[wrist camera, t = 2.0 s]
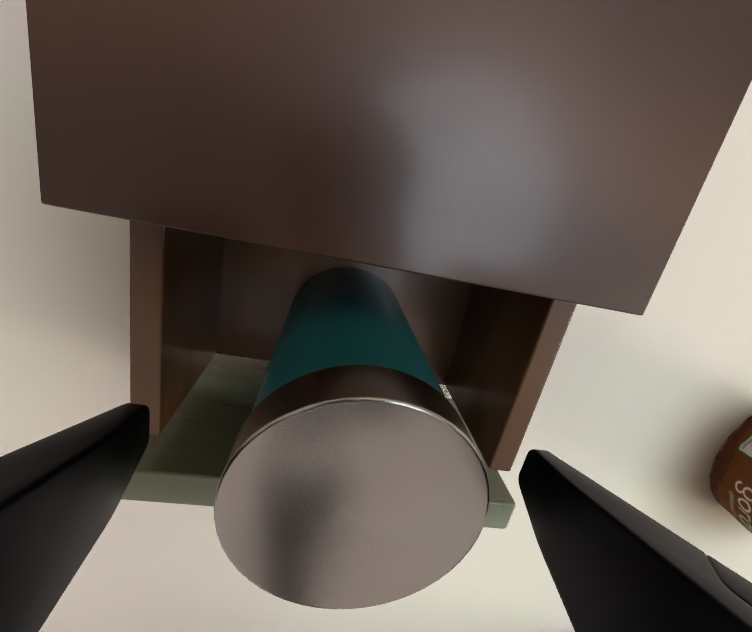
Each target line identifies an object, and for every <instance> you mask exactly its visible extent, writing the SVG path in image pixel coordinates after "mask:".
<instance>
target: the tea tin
mask: <svg viewBox="0 0 752 632" xmlns="http://www.w3.org/2000/svg"><path fill="white" fill-rule="evenodd" d="M488 506H489V481H488V476H487V471H486V468H485V466H484V463H483V460H482V458H481V456H480V454H479V452H478V450H477V448H476V446H475V444H474V442H473V440H472V439H471V437H470V435H469V433H468V431H467V429H466V427H465V425H464V423H463V421H462V419H461V418H460V416H459V414H458V413H457V411H456V410H455V408H454V407H453V406H452V405H451V403H450V402H449V401H448V400H447V399H446V398H445V396H444V394H443V392H442V390H441V388H440V386H439V384H438V382H437V380H436V378H435V376H434V374H433V371H432V369H431V367H430V365H429V363H428V361H427V359H426V357H425V355H424V353H423V351H422V349H421V347H420V345H419V343H418V341H417V339H416V337H415V335H414V333H413V331H412V329H411V327H410V325H409V323H408V321H407V319H406V317H405V315H404V313H403V311H402V309H401V307H400V305H399V303H398V301H397V299H396V297H395V295H394V293H393V292H392V290H391V289H390V288H389V287H388V285H387V284H386V283H385V282H384V281H382V280H381V279H380V278H378V277H377V276H375V275H373V274H372V273H369V272H367V271H364V270H361V269H357V268H349V267H341V268H334V269H330V270H326V271H324V272H321V273H319V274H317V275H315V276H314V277H312V278H311V279H309V280H308V281H307V282H306V283H305V284H304V285H303V286H302V287H301V288H300V289H299V291H298V292H297V294H296V295H295V297H294V299H293V302H292V304H291V307H290V310H289V312H288V315H287V318H286V320H285V323H284V326H283V329H282V331H281V334H280V337H279V339H278V342H277V345H276V347H275V350H274V353H273V355H272V358H271V361H270V364H269V366H268V369H267V372H266V374H265V377H264V380H263V382H262V385H261V388H260V391H259V393H258V396H257V399H256V401H255V404H254V407H253V409H252V412H251V414H250V415H249V416H248V417H247V419H246V420H245V422H244V423H243V425H242V427H241V429H240V431H239V432H238V435H237V437H236V440H235V442H234V445H233V447H232V450H231V452H230V455H229V458H228V460H227V463H226V465H225V468H224V470H223V473H222V476H221V478H220V481H219V484H218V487H217V490H216V496H215V501H214V520H215V526H216V531H217V535H218V538H219V540H220V543H221V546H222V548H223V550H224V551H225V553H226V555H227V557H228V558H229V560H230V561H231V562H232V563H233V565H234V566H235V567H236V568H237V570H238V571H239V572H241V573H242V574H243V575H244V576H245V577H246V578H247V579H248V580H250V581H251V582H252V583H254V584H255V585H257V586H258V587H259V588H261V589H263V590H265V591H267V592H269V593H270V594H272V595H274V596H277V597H279V598H282V599H284V600H287V601H290V602H294V603H297V604H301V605H306V606H311V607H317V608H328V609H353V608H364V607H370V606H375V605H381V604H385V603H388V602H392V601H395V600H398V599H401V598H404V597H406V596H409V595H411V594H414V593H416V592H418V591H420V590H422V589H424V588H426V587H427V586H429V585H431V584H432V583H434V582H436V581H437V580H439V579H440V578H441V577H443V576H444V575H445V574H447V573H448V572H449V571H451V570H452V569H453V568H454V567H455V566H456V565H457V564H458V563H459V562H460V561H461V560H462V559H463V558H464V556H465V555H466V554H467V553H468V552H469V551H470V549H471V548H472V546H473V545H474V543H475V542H476V540H477V538H478V536H479V534H480V532H481V530H482V528H483V526H484V523H485V519H486V516H487V513H488Z"/></svg>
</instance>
